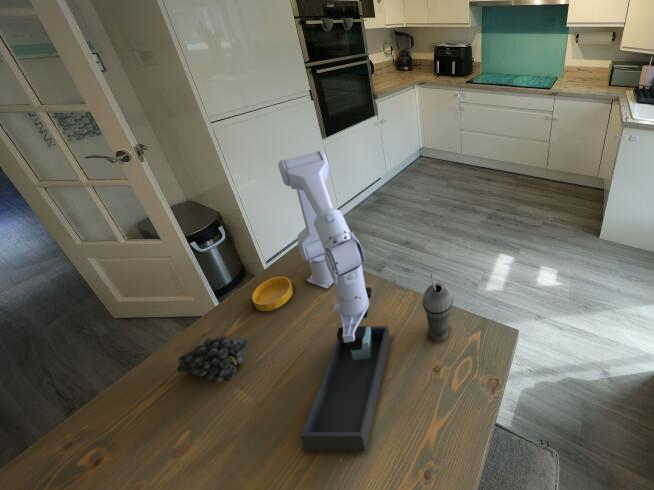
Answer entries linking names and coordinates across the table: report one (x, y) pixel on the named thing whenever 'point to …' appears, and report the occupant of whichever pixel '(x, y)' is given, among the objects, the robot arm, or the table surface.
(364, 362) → the bin
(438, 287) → the beverage cup
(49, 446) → the table surface
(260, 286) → the bowl
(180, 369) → the fruit
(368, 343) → the toy block
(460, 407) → the table surface
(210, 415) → the table surface
